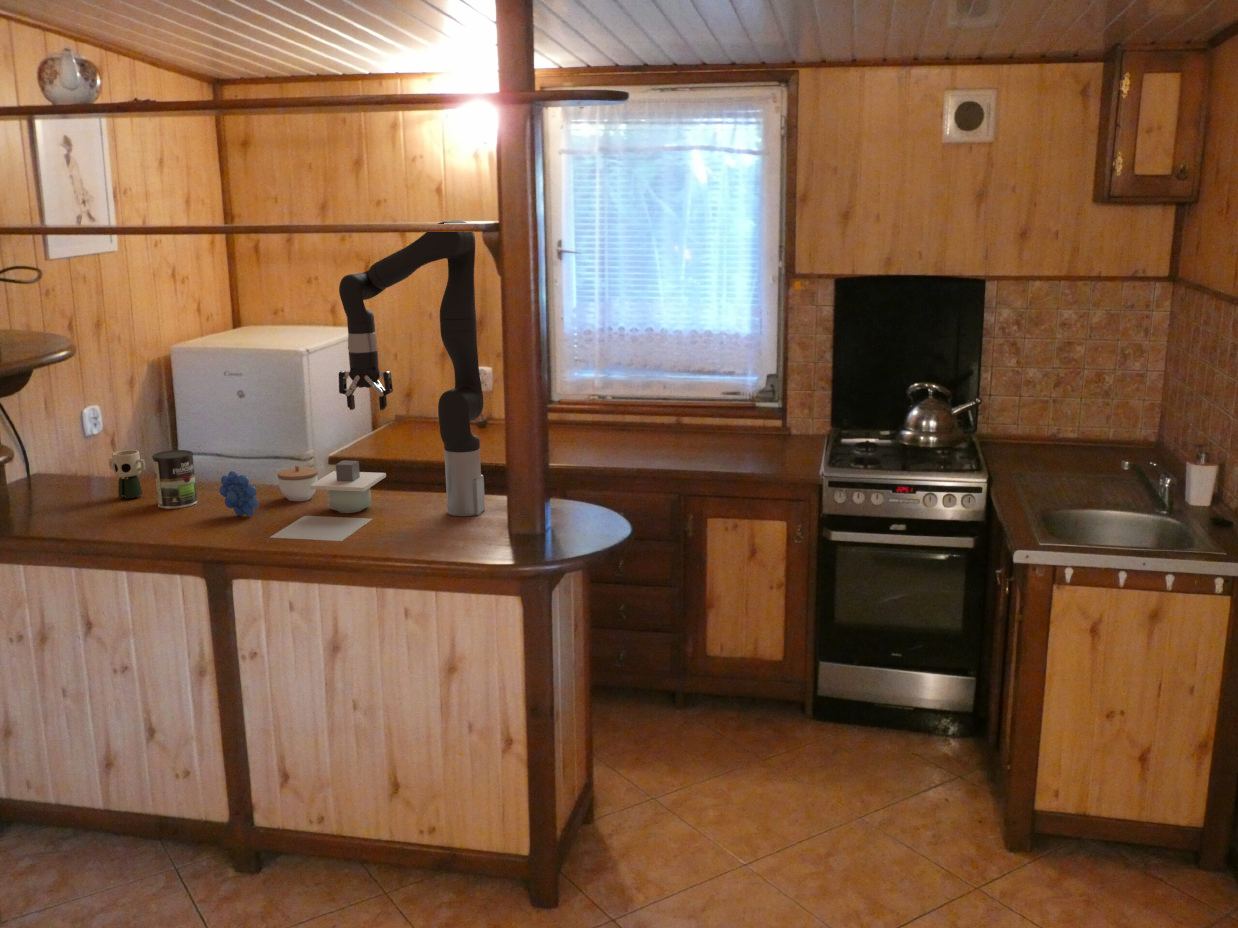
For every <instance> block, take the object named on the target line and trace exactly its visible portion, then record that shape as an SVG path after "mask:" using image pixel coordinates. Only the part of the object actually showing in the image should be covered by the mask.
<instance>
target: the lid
mask: <svg viewBox="0 0 1238 928" xmlns="http://www.w3.org/2000/svg"><path fill="white" fill-rule="evenodd" d="M386 477H387V473H386V472H370V471H369V472H368V471H367V472H366V471H360V461H359V460H347V459H345V460H341V461H339V462H338V463H336V464H335V470H334V471H332V472H330V473H328V474H326V475H325V476H323V477H321V478H320V479H318V481H316V482H315V483H313V484H311V485H310V489H316V491H317V490H319V491H320V490H323V491H328V490H342V491H366V490H367V489H369V488H370V489H371V487H373V486H374V485H376V484H377V483H379V482H380V481H382V480H383V479H385V478H386Z"/></svg>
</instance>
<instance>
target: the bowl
mask: <svg viewBox="0 0 1238 928" xmlns="http://www.w3.org/2000/svg"><path fill="white" fill-rule="evenodd" d="M327 497H328V498H327V501H328V508H329V509H331V510H333V511H336V512H337V513H341V514H354V513H358V512H363V510H365V509H366V508H368V507H370V506H371V505H372V498H371V497H372V495H371V487H370V488H369V489H367V490H366V491H342V490H327Z"/></svg>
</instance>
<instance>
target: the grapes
mask: <svg viewBox="0 0 1238 928" xmlns="http://www.w3.org/2000/svg"><path fill="white" fill-rule="evenodd" d="M220 482H221V486H220V487H219V493H220V495H221V496H222V497H224V498H225V499H224V505H225V506H226V508H228V509H233V512H234V514H236V516H240V517H241V516H243V515H245V516H247V517H250V516H253V515H254V511H255V509H256V508H258V507H259V500H258V498H256V495H257V489H256V487H255V486H254V485H252V484H249V483H250V480H249V477H248V476H246V475H244V474H241V475H239V474H238V472H236V471H233V470H232V471H229V473H228V474H227V475H226V474H225V475H222V476H221V478H220Z"/></svg>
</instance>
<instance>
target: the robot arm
mask: <svg viewBox="0 0 1238 928" xmlns="http://www.w3.org/2000/svg"><path fill="white" fill-rule="evenodd" d="M444 223H467V222H466V221H464V220H460V219H459V220H446V221H445V220H444V221H440V222H438V223H437V224H444ZM443 259H446V260H447V282H446V286H445V289H444V292H443V293H444V294H443V296H442V299H441V304H440V306H439V307H440V308H439V327H440V328H439V329H440V331H439V332H440V337H441V341H442V344H443V346H444V348H445V350H446V352H447V354H448V356H449V358H450V360H451V362H452V365H453V372H454V388H452V389H448V390H446V391H444V392H443V393H442V394H441V395H440V397H439V399H438V404H437V414H438V422H439V423H438V424H439V432H440V433H439V434H440V438H441V439H440V440H441V441H442V443H443V448H444V451H443V452H444V466H445V467H444V468H445V470H444V471H445V487H446V488H445V490H446V492H445V493H446V509H447V514H448V515H449V516H454V517H471V516H479V515H481V513H482V512H483V511H485V509H486V503H485V502H486V501H485V480H484V478H485V477H484V474H482V468H481V467H482V466H481V443H480V442H481V441H480V437H479V436H477V435H474V434H473V433H472V429H471V421H474V420H476V419H478V418H479V417H480V415H481V414H482V412H483V410H484V392H483V387H482V381H481V375H480V369H479V367H480V365H479V351H478V329H477V328H478V327H477V326H478V325H477V312H476V311H477V310H476V293H475V291H476V290H475V288H476V287H475V261H476V237H475V232H474V231H473V232H427V231H426V232H424V234H422V235H421V236H419V238H417V239H416V240H414V241H413V242H412V243H409V244H408V245H407V246H405V247H402V248H401V249H399V250H398V251H396V252H393V253H391V254H390V255H388V256H385V257H384V258H382V259H380V260H378V261H376V262H374V263H373V264H372V265H371V266H370V267H369V268H368V270H366V271H363V272H359V273H352V274H351V273H350V274H346V275H344V276H343V277H342V278H341V279H340V282H339V287H338V292H339V297H340V298H339V299H340V302H341V304H342V308H343V310H344V312H345V316H346V319H347V321H346V323H347V324H346V325H347V332H348V334H347V351H348V360H349V371H347V370H341V371H339V372H338V391H339V392H338V393H339V394H341V395H345V396H346V404H347V408H349V410H351V411H353V410H355V409H356V404H355V395H354V393H355V391H356V390H357V389H360V388H366V389H367V388H372V389H373V390H374V391H375V392H376V393H377V394H378V395H379V396H378V402H379V403H378V404H379V411H384V410H386V408H387V406H388V403H387V401H388V400H387V399H388V398H387V395H389V394H391V393H393V392H394V389H393V381H392V372H391V371H390V370H386V371H380V368H379V352H378V340H377V336H376V325H375V324H376V323H375V315H374V312H373V311H372V310H370V309H366V306H365V303H364V301H367V300H370V299H373V298H374V297H377V296H378V295H379V294H380V293H382V292H384V291H385V290H386V289H388V288H390V287H392V286H394V285H396V284H398V283H400V282H401V281H404V280H405V279H407V278H408V277H410V276H411V275H412V274H414V273H415V272H416V271H417V270H418V269H419V268H421V267H424V266H425V265H427V264H431V263H433V262H436V261H440V260H443ZM349 378H350V379H351V380H352V382H351V384H350V385H349V387H347V386H348V383H347V382H348V379H349ZM380 378H381V380H383V383H384V387H383V385H382V383H381V382H380V380H379V379H380Z"/></svg>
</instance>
